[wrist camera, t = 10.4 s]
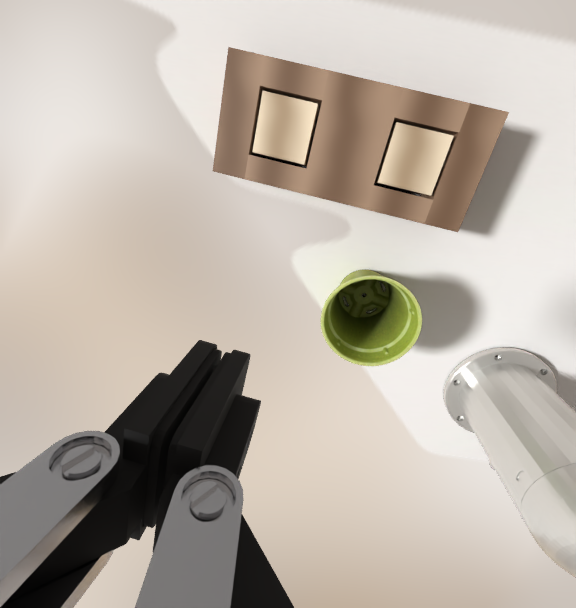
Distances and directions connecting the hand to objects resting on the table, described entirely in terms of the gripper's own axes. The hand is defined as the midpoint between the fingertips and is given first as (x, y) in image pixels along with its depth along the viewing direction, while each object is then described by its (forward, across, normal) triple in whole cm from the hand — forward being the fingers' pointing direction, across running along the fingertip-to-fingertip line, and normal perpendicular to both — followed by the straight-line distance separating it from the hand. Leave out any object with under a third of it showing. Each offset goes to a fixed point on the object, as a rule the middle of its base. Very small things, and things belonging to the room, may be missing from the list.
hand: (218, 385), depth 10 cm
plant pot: (+29, -9, +5) cm, 31 cm away
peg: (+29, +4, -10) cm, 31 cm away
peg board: (+29, -2, -10) cm, 31 cm away
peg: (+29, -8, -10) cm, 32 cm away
